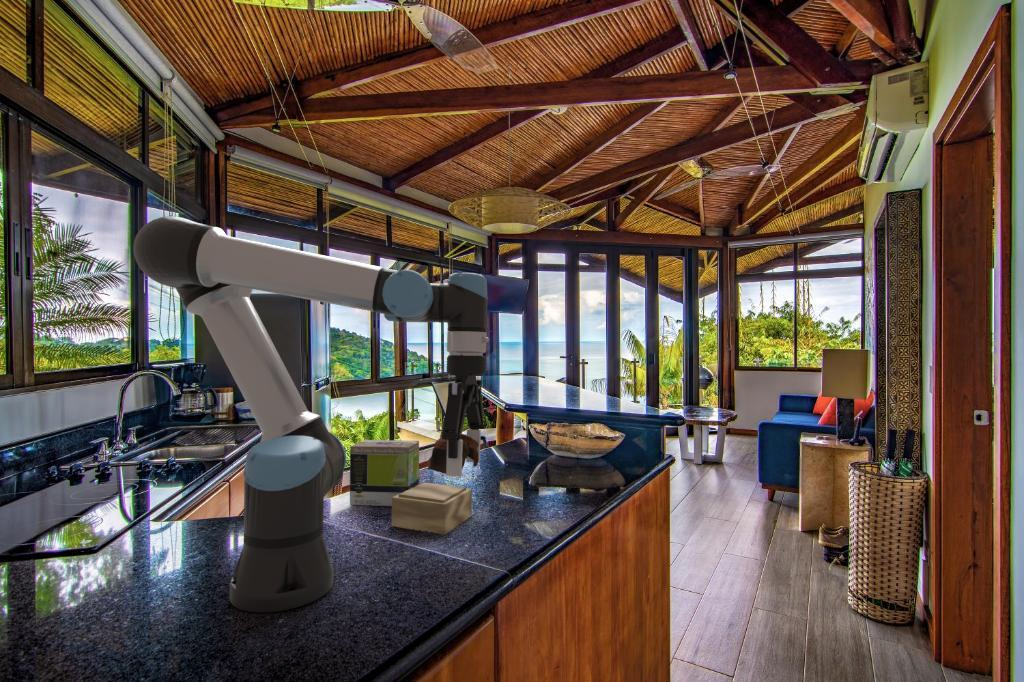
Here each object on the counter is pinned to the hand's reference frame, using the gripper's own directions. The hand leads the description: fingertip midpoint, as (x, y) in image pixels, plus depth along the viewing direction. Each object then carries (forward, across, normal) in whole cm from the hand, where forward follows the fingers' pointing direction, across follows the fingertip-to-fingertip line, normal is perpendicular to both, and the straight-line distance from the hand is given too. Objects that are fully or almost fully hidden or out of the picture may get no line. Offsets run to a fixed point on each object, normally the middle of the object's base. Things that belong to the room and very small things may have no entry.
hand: (464, 468), depth 100 cm
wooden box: (+16, +15, +12) cm, 25 cm away
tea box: (+16, +26, +29) cm, 42 cm away
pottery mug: (0, 0, +2) cm, 2 cm away
